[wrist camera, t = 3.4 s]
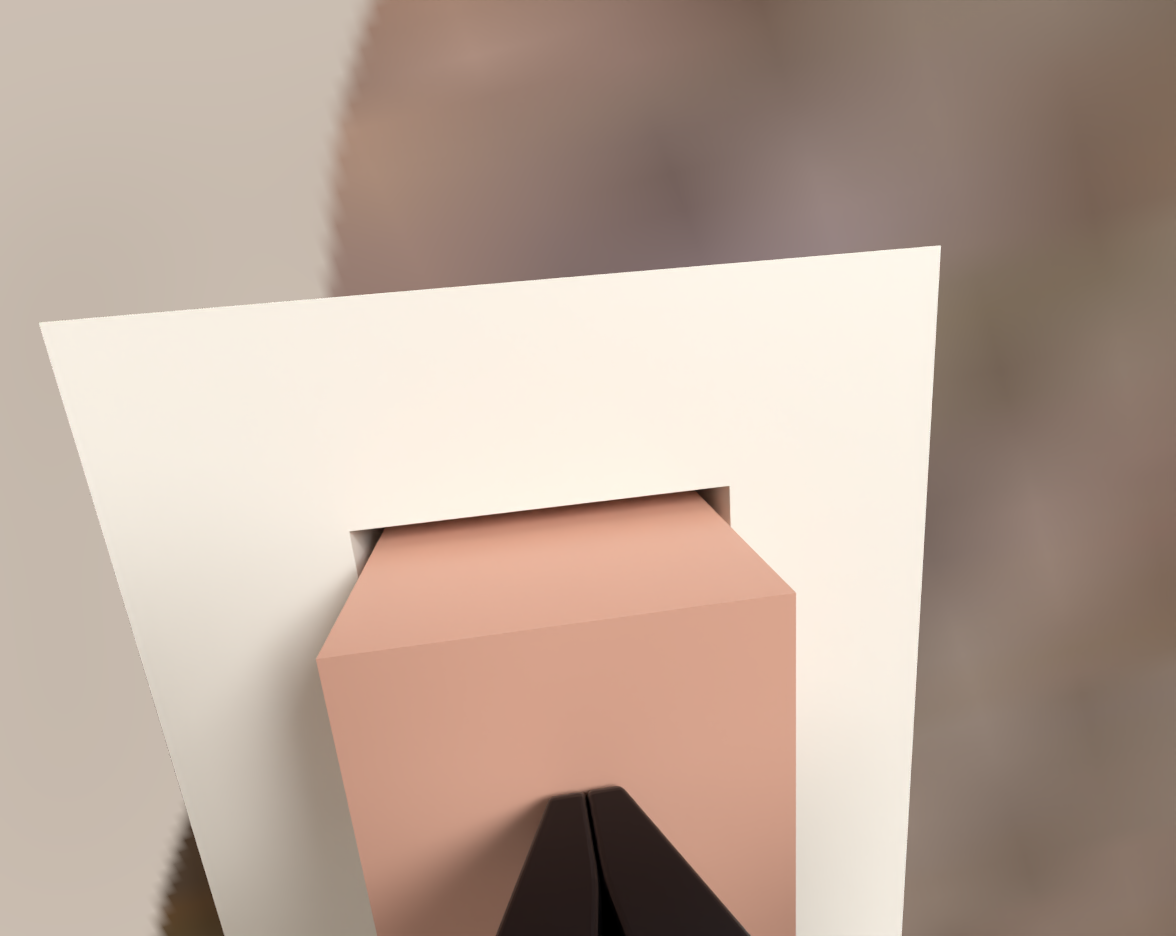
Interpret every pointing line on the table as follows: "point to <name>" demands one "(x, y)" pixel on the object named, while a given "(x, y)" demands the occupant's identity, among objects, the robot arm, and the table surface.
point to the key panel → (499, 485)
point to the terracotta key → (564, 702)
